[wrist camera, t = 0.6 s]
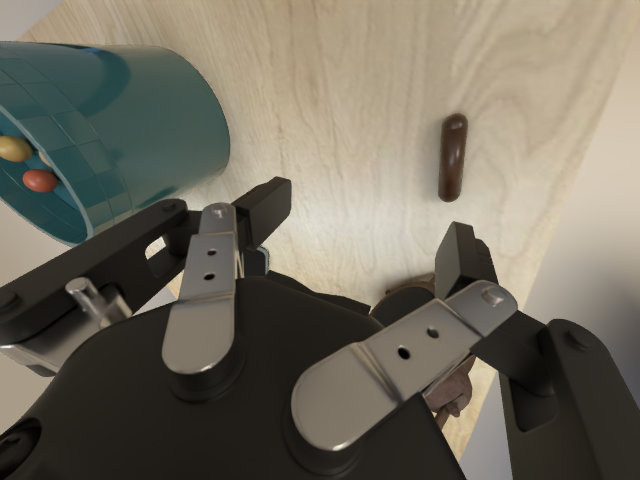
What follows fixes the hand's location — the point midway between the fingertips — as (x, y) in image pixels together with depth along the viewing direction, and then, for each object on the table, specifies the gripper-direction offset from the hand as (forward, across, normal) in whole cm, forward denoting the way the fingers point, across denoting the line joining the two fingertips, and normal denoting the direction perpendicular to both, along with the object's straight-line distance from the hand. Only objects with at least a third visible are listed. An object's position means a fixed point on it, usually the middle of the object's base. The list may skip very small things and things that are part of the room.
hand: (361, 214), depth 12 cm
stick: (+19, -6, +2) cm, 20 cm away
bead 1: (+2, +37, +4) cm, 38 cm away
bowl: (+19, +33, +4) cm, 38 cm away
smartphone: (+20, +23, +32) cm, 44 cm away
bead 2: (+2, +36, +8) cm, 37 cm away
